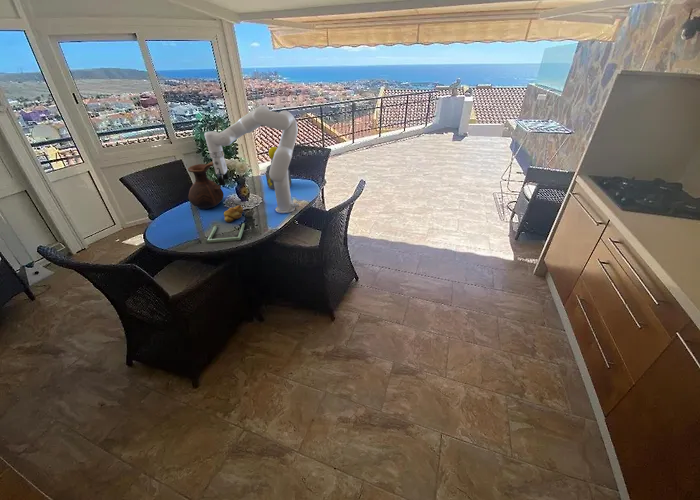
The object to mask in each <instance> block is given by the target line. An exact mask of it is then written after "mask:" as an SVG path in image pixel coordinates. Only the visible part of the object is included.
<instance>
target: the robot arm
mask: <svg viewBox="0 0 700 500" xmlns="http://www.w3.org/2000/svg"><path fill="white" fill-rule="evenodd" d="M260 127H267V128H270V129H274V130H278V131H282V132H281V135H280V140H279V143H278V146H277V149H276V151H275V154H274V157H273V160H272V164H271V163H270V165H271V167H270V171H269V176H270V178H271V179H272V180H273V182H274V188H275V190H274V194H275V200H276V207H275V212H276V213H278V214H289V213H292V212H294V211H295V210H296V208H299V207H300V204H299V203H298V202H294V201H293V199H292V195H291V186H290V185H289V176H288V169H289V168H290V167H289V166H290V164H291V161H292V157H293V152H294V148H295V145H296V142H297V138H298V134H299V129H298V128H299V127H298V123H297V120H296V118H295V116H294V115H293V114H292V113H291V112H290V111H288V110H281V111H279V112H277V111H273V110H271V109H270V108H269V107H268V106H267V105H259V106H256V108H254V109H252V110H251V111H250V112H248V113H247V114H245V115H243V116H242V117H240V118H239V119H238V120H237V121H235V122H234V123H233V124H231V125H230V126H228V127H227V128H225V129H223V130H222V131H220V132H218V131H216V130H209V131H205V132H204V138H205V142H206V146H207V149H208V153H209V156H210V158H211V160H212V161H213V164H214V165H213V168H214V172H215V174H216V177H217V180H218V185H220V186H226V180H227V181H228V180H229V175H228V173H227V172H228V166H227V163H226V158H225V153H224V149H223V147H229V146H231V144H233V143H234V142H235V141H236V140H238V139H239V138H241V137H242V136H244V135H246V134H250V133H252V132H254V131H256V129H258V128H260Z"/></svg>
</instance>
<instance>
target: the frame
mask: <svg viewBox="0 0 700 500" xmlns="http://www.w3.org/2000/svg"><path fill="white" fill-rule="evenodd" d="M245 227H246V224H245V222H243V223H242V224H241V227H240V230H239V232H238V236H232V237H231V236H230V237H218V238H213V237H214V235H215V233H216V231H217V229H218V226H217V225H213V227H212V229H211V231H210V233H209V235H208V238H207V239H206V243H207V244H209V243H220V242H231V241H240V240H241V238H242V236H243V233H244V229H245Z"/></svg>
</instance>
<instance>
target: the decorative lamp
mask: <svg viewBox="0 0 700 500" xmlns="http://www.w3.org/2000/svg"><path fill="white" fill-rule="evenodd" d="M277 148H278V146H272V147H270V148H269V150H268V157H269V158H270V164H269V165H267V166H266V171H265V179H266V185H267V187H268V188H269V189H270V190H272V191H275V188H274V182H273V180H272V179H271V178H270V176H269V171H270V167H271V164H272V160H273V157H274V154H275V151H276V149H277ZM288 176H289V185H290V187H292V176H291V171H290V169H289V168H288Z"/></svg>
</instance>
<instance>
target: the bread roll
mask: <svg viewBox="0 0 700 500" xmlns="http://www.w3.org/2000/svg"><path fill="white" fill-rule="evenodd" d="M243 213H244V208H243V206H242V205H241V204H238V205H236V206H234V207H233V206H232V207H229V208H228V209H227V210H225V211H224V212H223V216H224V218H223V219H224V221H225V222H226V223H232V222H234V221H237V220H239V219H241V218H242V216H243Z"/></svg>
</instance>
